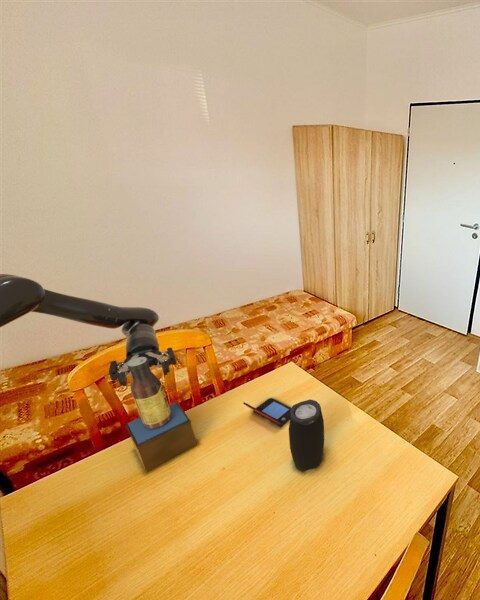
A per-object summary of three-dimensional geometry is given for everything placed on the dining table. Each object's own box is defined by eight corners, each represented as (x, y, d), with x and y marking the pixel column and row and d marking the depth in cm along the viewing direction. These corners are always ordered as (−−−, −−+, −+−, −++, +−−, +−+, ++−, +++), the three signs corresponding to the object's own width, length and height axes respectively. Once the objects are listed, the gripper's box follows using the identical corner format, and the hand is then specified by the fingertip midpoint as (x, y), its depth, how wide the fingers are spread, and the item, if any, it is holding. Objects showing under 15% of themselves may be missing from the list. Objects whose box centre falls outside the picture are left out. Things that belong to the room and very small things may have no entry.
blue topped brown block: (146, 473, 84) (136, 447, 80) (135, 450, 89) (125, 424, 85) (197, 446, 92) (190, 420, 88) (184, 426, 98) (177, 402, 94)
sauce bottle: (177, 417, 88) (160, 359, 80) (153, 433, 83) (132, 372, 74) (162, 409, 90) (144, 351, 82) (137, 424, 85) (116, 363, 77)
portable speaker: (285, 465, 89) (280, 413, 81) (308, 442, 97) (306, 392, 89) (308, 480, 86) (305, 428, 78) (330, 455, 93) (330, 405, 85)
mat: (138, 444, 80) (137, 443, 80) (128, 424, 85) (127, 423, 85) (187, 420, 88) (187, 419, 88) (175, 403, 93) (175, 402, 93)
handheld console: (297, 413, 107) (296, 396, 104) (272, 435, 98) (270, 417, 95) (270, 399, 112) (268, 382, 108) (244, 419, 103) (241, 401, 100)
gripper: (107, 343, 88) (104, 375, 77) (168, 330, 96) (175, 357, 85) (115, 365, 91) (114, 399, 80) (174, 350, 100) (180, 379, 88)
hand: (145, 377), depth 83 cm, fingers open, 8 cm apart
